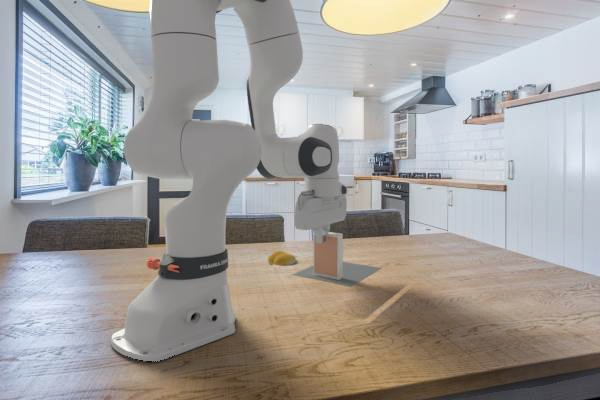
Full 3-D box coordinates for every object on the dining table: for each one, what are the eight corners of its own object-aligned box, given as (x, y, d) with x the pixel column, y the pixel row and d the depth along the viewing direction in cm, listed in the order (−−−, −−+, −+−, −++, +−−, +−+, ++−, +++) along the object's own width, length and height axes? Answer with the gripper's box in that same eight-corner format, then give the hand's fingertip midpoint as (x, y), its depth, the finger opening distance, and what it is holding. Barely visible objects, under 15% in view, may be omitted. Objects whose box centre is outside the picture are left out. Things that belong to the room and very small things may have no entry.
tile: (338, 280, 95) (338, 234, 94) (312, 275, 99) (312, 231, 98) (342, 277, 97) (342, 233, 96) (317, 273, 101) (317, 230, 100)
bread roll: (281, 269, 108) (281, 256, 108) (264, 263, 115) (263, 251, 115) (302, 264, 114) (302, 252, 113) (284, 259, 121) (284, 247, 120)
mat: (350, 289, 90) (350, 286, 90) (292, 277, 100) (292, 274, 100) (381, 270, 106) (381, 268, 106) (328, 261, 116) (328, 259, 116)
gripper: (309, 192, 83) (309, 251, 84) (350, 187, 99) (350, 237, 101) (287, 191, 86) (288, 248, 88) (330, 186, 103) (330, 234, 104)
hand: (321, 242), depth 94 cm, fingers closed
